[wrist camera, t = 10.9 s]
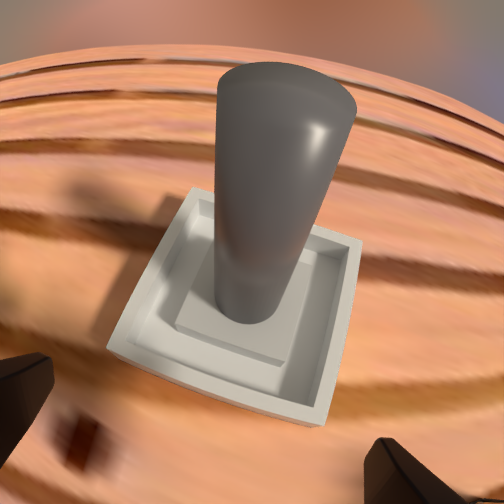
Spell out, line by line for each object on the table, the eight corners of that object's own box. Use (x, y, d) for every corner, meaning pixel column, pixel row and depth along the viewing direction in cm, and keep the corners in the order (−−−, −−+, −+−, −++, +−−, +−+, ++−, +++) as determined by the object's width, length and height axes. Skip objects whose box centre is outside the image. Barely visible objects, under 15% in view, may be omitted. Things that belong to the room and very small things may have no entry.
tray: (310, 427, 16) (324, 426, 14) (118, 359, 17) (105, 347, 15) (349, 260, 22) (362, 240, 20) (194, 210, 23) (192, 186, 21)
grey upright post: (280, 367, 17) (403, 210, 6) (177, 331, 18) (119, 127, 6) (306, 277, 20) (395, 83, 9) (215, 247, 21) (223, 36, 9)
